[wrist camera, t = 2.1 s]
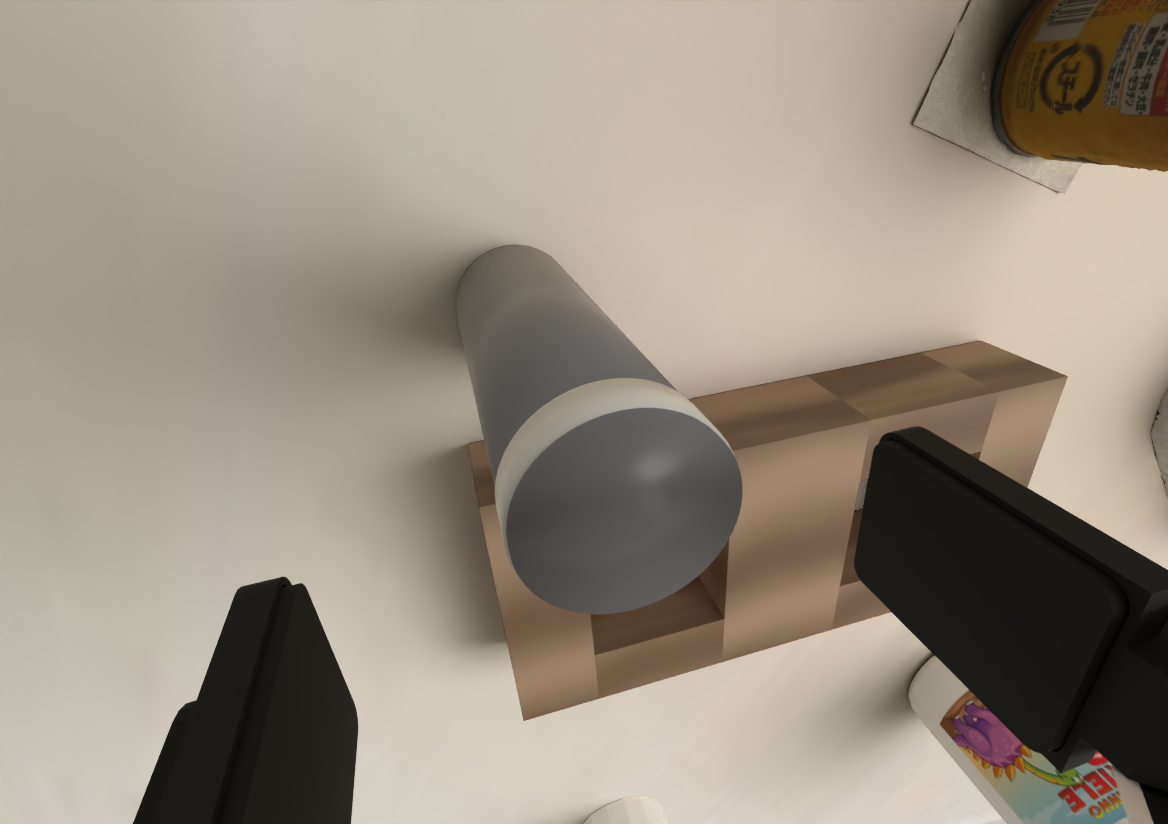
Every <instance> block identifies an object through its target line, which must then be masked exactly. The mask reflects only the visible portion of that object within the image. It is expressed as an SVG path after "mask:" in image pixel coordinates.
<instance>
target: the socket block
mask: <svg viewBox="0 0 1168 824" xmlns="http://www.w3.org/2000/svg"><path fill="white" fill-rule="evenodd" d="M1067 377H1068V376H1065V375H1063V374H1061V373H1058V372H1056V371H1053V370H1051V369H1049V368H1046V367H1044V366H1041V365H1039V364H1036V363H1034V362H1032V361H1029V360H1027V359H1024V358H1022V357H1019V356H1017V355H1015V354H1012V353H1010V352H1007V351H1005V350H1003V349H1000V348H998V347H995V346H993V345H990V344H988V343H986V342H983V341H977V342H972V343H967V344H962V345H957V346H952V347H947V348H942V349H937V350H933V351H928V352H923V353H918V354H913V355H908V356H903V357H898V358H893V359H888V360H883V361H878V362H873V363H868V364H863V365H858V366H853V367H848V368H843V369H838V370H833V371H828V372H823V373H818V374H813V375H808V376H803V377H798V378H793V379H788V380H783V381H778V382H773V383H768V384H764V385H759V386H754V387H749V388H744V389H739V390H734V391H729V392H724V393H719V394H714V395H709V396H704V397H699V398H694V399H689V401H690V402H691V403H693V404H694V405H695V406H696V407H697V409H698V410H699V411H700V412H701V413H702V414H703V415H704V416H705V417H706V418H707V419H708V420H709V421H710V422H711V423H712V424H713V425H714V427H715V428H716V429H717V430H718V431H719V432H720V433H721V434H722V436H723V437H724V438H725V439H726V441H727V442H728V444H729V445H730V447H731V449H732V451H733V453H734V456H735V458H736V460H737V463H738V466H739V469H740V472H741V478H742V493H743V496H742V503H741V509H740V513H739V516H738V520H737V523H736V525H735V527H734V530H733V532H732V534H731V536H730V538H729V539H728V541H727V543H726V545H725V546H724V547H723V549H722V550H721V552H720V553H719V554H718V556H717V557H716V558H715V559H714V560H713V562H712V563H711V564H710V565H709V566H708V567H707V568H706V569H705V570H704V571H703V572H702V573H701V574H700V575H699V576H697V577H696V578H695V579H694V580H692V581H691V582H690V583H688V584H687V585H686V586H684V587H683V588H681V589H680V590H678V591H676V592H675V593H673V594H671V595H669V596H667V597H666V598H664V599H662V600H659V601H657V602H655V603H652V604H650V605H647V606H644V607H641V608H638V609H635V610H630V611H625V612H621V613H613V614H582V613H576V612H571V611H567V610H564V609H561V608H558V607H555V606H553V605H551V604H549V603H547V602H545V601H543V600H542V599H540V598H539V597H538V596H536V595H535V594H533V593H532V592H531V591H530V590H529V589H528V588H527V587H526V586H525V585H524V583H523V582H522V580H521V579H520V578H519V576H518V575H517V573H516V571H515V570H514V569H513V567H512V565H511V563H510V561H509V559H508V556H507V553H506V549H505V546H504V542H503V537H502V532H501V527H500V523H499V518H498V513H497V509H496V501H495V486H494V481H493V477H492V472H491V468H490V463H489V459H488V454H487V450H486V445H485V441H480V442H475V443H470V444H468V447H469V453H470V459H471V465H472V471H473V476H474V482H475V488H476V494H477V500H478V506H479V511H480V516H481V521H482V525H483V530H484V535H485V540H486V544H487V549H488V554H489V559H490V563H491V568H492V573H493V577H494V582H495V587H496V592H497V596H498V601H499V606H500V611H501V615H502V620H503V625H504V630H505V634H506V639H507V644H508V649H509V653H510V658H511V663H512V668H513V672H514V677H515V682H516V687H517V691H518V696H519V701H520V706H521V710H522V715H523V720H524V721H525V720H528V719H532V718H535V717H539V716H542V715H545V714H549V713H552V712H555V711H559V710H562V709H566V708H569V707H572V706H576V705H579V704H582V703H586V702H589V701H593V700H596V699H599V698H603V697H606V696H609V695H613V694H616V693H620V692H623V691H626V690H630V689H633V688H636V687H640V686H643V685H646V684H650V683H653V682H657V681H660V680H663V679H667V678H670V677H673V676H677V675H680V674H684V673H687V672H690V671H694V670H697V669H700V668H704V667H707V666H711V665H714V664H717V663H721V662H724V661H727V660H731V659H734V658H738V657H741V656H744V655H748V654H751V653H754V652H758V651H761V650H765V649H768V648H771V647H775V646H778V645H781V644H785V643H788V642H791V641H795V640H798V639H802V638H805V637H808V636H812V635H815V634H818V633H822V632H825V631H829V630H832V629H835V628H839V627H842V626H845V625H849V624H852V623H856V622H859V621H862V620H866V619H869V618H872V617H876V616H879V615H883V614H886V613H889V612H891V611H890V610H889V609H888V608H887V607H886V606H885V605H884V604H883V603H882V602H881V601H880V600H879V599H878V598H877V597H876V596H875V595H874V594H873V593H872V592H871V591H870V590H869V589H868V588H867V587H866V586H865V585H864V584H863V583H862V582H861V580H860V579H859V577H858V576H857V574H856V571H855V567H854V557H855V552H856V546H857V540H858V535H859V529H860V523H861V517H862V512H863V509H862V510H858V511H854V509H855V503H856V498H857V493H858V488H859V482H860V481H862V480H866V479H868V477H869V472H870V466H871V460H872V455H873V450H874V448H875V446H876V445H877V444H879V441H880V439H881V437H882V436H883V435H884V434H886V433H889V432H893V431H897V430H901V429H906V428H910V427H914V426H920V427H923V428H925V429H927V430H929V431H931V432H932V433H934V434H936V435H938V436H939V437H941V438H943V439H944V440H946V441H948V442H950V443H951V444H953V445H955V446H956V447H958V448H960V449H962V450H963V451H965V452H967V453H968V454H970V455H972V456H973V457H975V458H977V459H979V460H980V461H982V462H984V463H985V464H987V465H989V466H991V467H992V468H994V469H996V470H997V471H999V472H1001V473H1003V474H1004V475H1006V476H1008V477H1009V478H1011V479H1013V480H1015V481H1016V482H1018V483H1020V484H1021V485H1023V486H1025V487H1028V484H1029V481H1030V478H1031V476H1032V473H1033V470H1034V468H1035V465H1036V462H1037V459H1038V457H1039V454H1040V451H1041V448H1042V446H1043V443H1044V440H1045V438H1046V435H1047V432H1048V429H1049V427H1050V424H1051V421H1052V418H1053V416H1054V413H1055V410H1056V407H1057V405H1058V402H1059V399H1060V397H1061V394H1062V391H1063V388H1064V386H1065V383H1066V380H1067Z"/></svg>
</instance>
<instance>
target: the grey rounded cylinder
mask: <svg viewBox="0 0 1168 824" xmlns="http://www.w3.org/2000/svg"><path fill="white" fill-rule="evenodd" d="M456 313H457V318H458V323H459V327H460V332H461V336H462V341H463V345H464V350H465V354H466V359H467V363H468V368H469V373H470V377H471V382H472V386H473V391H474V395H475V400H476V404H477V409H478V413H479V418H480V422H481V427H482V432H483V436H484V441H485V445H486V450H487V454H488V459H489V463H490V468H491V472H492V477H493V481H494V486H495V501H496V509H497V513H498V518H499V523H500V527H501V532H502V537H503V542H504V546H505V549H506V553H507V556H508V559H509V561H510V563H511V565H512V567H513V569H514V570H515V571H516V573H517V575H518V576H519V578H520V579H521V580H522V582H523V583H524V585H525V586H526V587H527V588H528V589H529V590H530V591H531V592H532V593H533V594H535V595H536V596H538V597H539V598H540V599H542V600H543V601H545V602H547V603H549V604H551V605H553V606H555V607H558V608H561V609H564V610H567V611H571V612H576V613H582V614H613V613H621V612H625V611H630V610H635V609H638V608H641V607H644V606H647V605H650V604H652V603H655V602H657V601H659V600H662V599H664V598H666V597H667V596H669V595H671V594H673V593H675V592H676V591H678V590H680V589H681V588H683V587H684V586H686V585H687V584H688V583H690V582H691V581H692V580H694V579H695V578H696V577H697V576H699V575H700V574H701V573H702V572H703V571H704V570H705V569H706V568H707V567H708V566H709V565H710V564H711V563H712V562H713V560H714V559H715V558H716V557H717V556H718V554H719V553H720V552H721V550H722V549H723V547H724V546H725V545H726V543H727V541H728V539H729V538H730V536H731V534H732V532H733V530H734V527H735V525H736V523H737V520H738V516H739V513H740V509H741V503H742V496H743V493H742V478H741V472H740V469H739V466H738V463H737V460H736V458H735V456H734V453H733V451H732V449H731V447H730V445H729V444H728V442H727V441H726V439H725V438H724V437H723V436H722V434H721V433H720V432H719V431H718V430H717V429H716V428H715V427H714V425H713V424H712V423H711V422H710V421H709V420H708V419H707V418H706V417H705V416H704V415H703V414H702V413H701V412H700V411H699V410H698V409H697V407H696V406H695V405H694V404H693V403H691V402H690V401H689V400H688V399H687V398H686V397H685V396H683V395H682V394H680V393H679V392H678V391H677V390H676V389H675V388H674V387H673V386H672V385H671V384H670V383H669V382H668V381H667V380H666V378H665V377H664V376H663V375H662V374H661V373H660V372H659V371H658V370H657V369H656V368H655V367H654V366H653V365H652V363H651V362H650V361H649V360H648V359H647V358H646V357H645V356H644V355H643V354H642V353H641V352H640V351H639V349H638V348H637V347H636V346H635V345H634V344H633V343H632V342H631V341H630V340H629V339H628V338H627V337H626V336H625V334H624V333H623V332H622V331H621V330H620V329H619V328H618V327H617V326H616V325H615V324H614V323H613V322H612V321H611V319H610V318H609V317H608V316H607V315H606V314H605V313H604V312H603V311H602V310H601V309H600V308H599V307H598V305H597V304H596V303H595V302H594V301H593V300H592V299H591V298H590V297H589V296H588V295H587V294H586V293H585V292H584V290H583V289H582V288H581V287H580V286H579V285H578V284H577V283H576V282H575V281H574V280H573V279H572V278H571V277H570V275H569V274H568V273H567V272H566V271H565V270H564V269H563V268H562V267H561V266H560V265H559V264H558V263H557V262H556V261H555V260H554V259H553V258H552V257H551V256H549V255H548V254H546V253H544V252H542V251H540V250H538V249H536V248H533V247H529V246H524V245H507V246H502V247H498V248H496V249H493V250H490V251H488V252H487V253H485V254H483V255H482V256H480V257H479V258H477V259H476V260H475V261H474V262H473V263H472V264H471V265H470V266H469V268H468V269H467V270H466V272H465V273H464V275H463V277H462V279H461V281H460V283H459V286H458V290H457V295H456Z"/></svg>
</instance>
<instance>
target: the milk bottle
mask: <svg viewBox="0 0 1168 824" xmlns="http://www.w3.org/2000/svg"><path fill="white" fill-rule="evenodd" d="M908 697H909V701H910V704H911V707H912V709H913V710H914V712H915V713H916V714H917V716H918V717H919V718H920V719H921V721H922V722H923V723H924V724H925V726H926V727H927V728H928V729H929V731H930V732H931V733H932V734H933V735H934V737H935V738H936V739H937V740H938V741H939V743H940V744H941V745H942V746H943V747H944V749H945V750H946V751H947V752H948V754H949V755H950V756H951V757H952V758H953V760H954V761H955V762H956V763H957V764H958V766H959V767H960V768H961V769H962V770H963V772H964V773H965V774H966V775H967V776H968V778H969V779H970V780H971V781H972V782H973V784H974V785H975V786H976V787H977V788H978V790H979V791H980V792H981V793H982V794H983V796H984V797H985V798H986V799H987V800H988V802H989V803H990V804H991V805H992V806H993V808H994V809H995V810H996V811H997V812H998V814H999V815H1000V816H1001V817H1002V818H1003V819H1004V820H1005V822H1006V823H1007V824H1129V821H1128V818H1127V815H1126V812H1125V809H1124V806H1123V803H1122V799H1121V796H1120V793H1119V790H1118V787H1117V784H1116V781H1115V778H1114V775H1113V772H1112V768H1111V763H1110V762H1109V761H1108V760H1107V759H1106V758H1105V757H1104V756H1102V755H1101V754H1100V753H1099V752H1098V751H1096V753H1095V755H1094V757H1093V759H1092V761H1091V762H1088V763H1086V764H1083V765H1081V766H1078V767H1076V768H1073V769H1071V770H1068V771H1066V772H1063V773H1060V772H1059V771H1058V770H1057V769H1056V768H1055V767H1054V766H1053V765H1052V764H1051V763H1050V762H1049V761H1048V760H1047V759H1046V758H1045V757H1044V756H1043V755H1042V754H1040V753H1037V752H1034V751H1032V750H1031V749H1029V748H1027V747H1026V746H1025V745H1024V744H1023V743H1022V742H1021V741H1020V740H1019V739H1018V738H1017V737H1016V736H1015V735H1014V734H1013V733H1012V732H1011V731H1010V730H1009V729H1008V728H1007V727H1006V726H1005V725H1004V724H1003V723H1002V722H1001V721H1000V720H999V719H998V718H997V717H996V716H995V715H994V714H993V713H992V712H991V711H990V710H989V709H988V708H987V707H986V706H985V705H984V704H983V703H982V702H981V701H980V700H979V699H978V698H977V697H976V696H975V695H974V694H973V693H972V692H971V691H970V690H969V689H968V688H967V687H966V686H965V685H964V684H963V683H962V682H961V681H960V680H959V679H958V678H957V677H956V676H955V675H954V674H953V673H952V672H951V671H950V670H949V669H948V668H947V667H946V666H945V665H944V664H943V663H942V662H941V661H940V660H939V659H938V658H937V657H936V656H935V655H934V656H933V657H932V658H930V659H929V660H928V661H927V662H926V663H925V664H924V665H923V666H922V667H921V669H920V670H919V671H918V673H917V674H916V675H915V677H914V679H913V681H912V682H911V685H910V688H909V695H908Z"/></svg>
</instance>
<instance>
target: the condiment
mask: <svg viewBox="0 0 1168 824" xmlns="http://www.w3.org/2000/svg"><path fill="white" fill-rule="evenodd" d="M982 71H984V74H985V80H984V82H981V79H980V74H981V72H982ZM984 84H987V91H986V92H985V93H984V92H983V86H984ZM913 124H914V125H916V126H918V127H920V128H922V129H924V130H927V131H929V132H932V133H934V134H936V135H937V136H939V137H941V138H944V139H946V140H949V141H951V142H953V143H956V144H957V145H960V146H962V147H964V148H966V149H968V150H970V151H973V152H975V153H976V154H978V155H980V156H983V157H985V158H987V159H989V160H991V161H992V162H995V163H997V164H998V165H1001V166H1003V167H1005V168H1007V169H1009V170H1012V171H1014V172H1016V173H1018V174H1020V175H1023V176H1025V177H1027V178H1029V179H1031V180H1033V181H1035V182H1038V183H1040V184H1042V185H1044V186H1046V187H1048V188H1051V189H1053V190H1055V191H1058V192H1060V193H1063V194H1065V192H1066V191H1067V188H1068V187H1069V184H1070V183H1071V182H1072V180H1073V178H1074V176H1075V175H1076V173H1077V171H1078V170H1079V168H1080V167H1081V165H1082V163H1094V164H1099V165H1118V166H1122V167H1129V168H1138V169H1140V168H1144V169H1147V170H1155V169H1156V170H1158V171H1163V172H1165V171H1168V0H971V2H970V4H969V6H968V8H967V11H966V13H965V15H964V17H963V19H962V20H961V21H960V23H959V24H958V26H957V28H956V29H955V34H954V37H953V39H952V42H951V45H950V47H949V49H948V52H947V54H946V56H945V58H944V60H943V62H942V64H941V66H940V68H939V69H938V71H937V73H936V75H935V77H934V79H933V81H932V83H931V85H930V89H929V92H928V94H927V96H926V98H925V100H924V103H923V105H922V107H921V109H920V111H919V113H918V115H917V117H916V119H915V121H914V123H913Z"/></svg>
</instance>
